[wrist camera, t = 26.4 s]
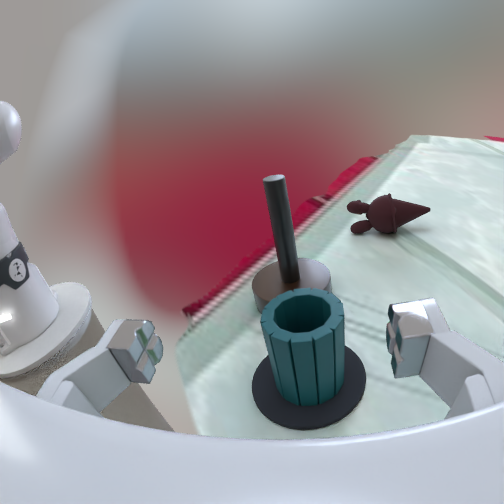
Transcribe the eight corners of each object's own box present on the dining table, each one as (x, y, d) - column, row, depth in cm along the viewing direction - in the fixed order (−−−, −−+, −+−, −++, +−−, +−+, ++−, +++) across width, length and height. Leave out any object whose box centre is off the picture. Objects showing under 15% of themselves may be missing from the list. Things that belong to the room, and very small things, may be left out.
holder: (251, 325, 37) (218, 199, 29) (260, 279, 45) (237, 173, 38) (334, 318, 34) (323, 185, 27) (328, 272, 43) (316, 162, 36)
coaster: (245, 430, 24) (243, 427, 23) (260, 345, 33) (259, 341, 33) (371, 424, 21) (371, 421, 21) (359, 337, 31) (359, 333, 31)
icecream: (423, 187, 48) (346, 196, 54) (432, 190, 41) (344, 201, 47) (428, 224, 50) (352, 233, 55) (436, 233, 43) (350, 243, 49)
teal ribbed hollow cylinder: (273, 407, 25) (255, 344, 21) (279, 356, 30) (265, 291, 26) (345, 403, 23) (347, 337, 20) (341, 351, 29) (339, 284, 25)
